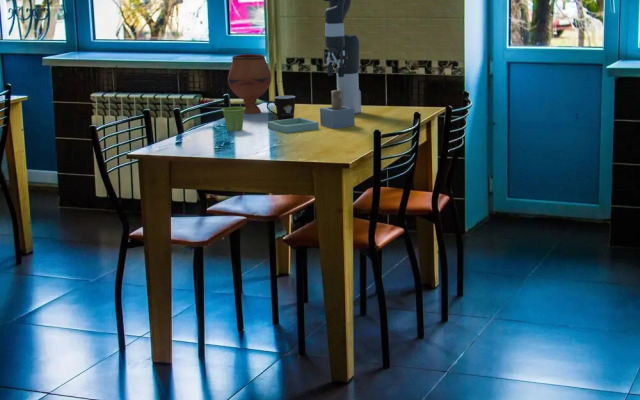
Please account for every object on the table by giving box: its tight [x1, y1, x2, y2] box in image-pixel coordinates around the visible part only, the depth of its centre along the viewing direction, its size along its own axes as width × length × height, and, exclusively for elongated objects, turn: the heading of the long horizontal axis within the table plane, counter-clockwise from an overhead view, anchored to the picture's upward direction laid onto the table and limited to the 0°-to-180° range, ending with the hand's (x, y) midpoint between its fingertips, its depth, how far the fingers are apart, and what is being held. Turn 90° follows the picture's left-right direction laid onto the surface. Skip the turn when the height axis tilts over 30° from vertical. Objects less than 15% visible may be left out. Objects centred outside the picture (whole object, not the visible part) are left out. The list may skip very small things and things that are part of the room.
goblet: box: [227, 53, 272, 115], centre depth 454 cm, size 19×19×25 cm
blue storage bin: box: [319, 106, 356, 130], centre depth 415 cm, size 10×10×7 cm
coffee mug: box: [266, 95, 296, 120], centre depth 431 cm, size 12×9×10 cm
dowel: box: [330, 89, 342, 110], centre depth 415 cm, size 4×4×14 cm
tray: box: [267, 117, 320, 134], centre depth 413 cm, size 15×15×3 cm
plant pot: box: [221, 106, 245, 132], centre depth 413 cm, size 9×9×9 cm
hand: (335, 76), depth 412 cm, fingers open, 8 cm apart
